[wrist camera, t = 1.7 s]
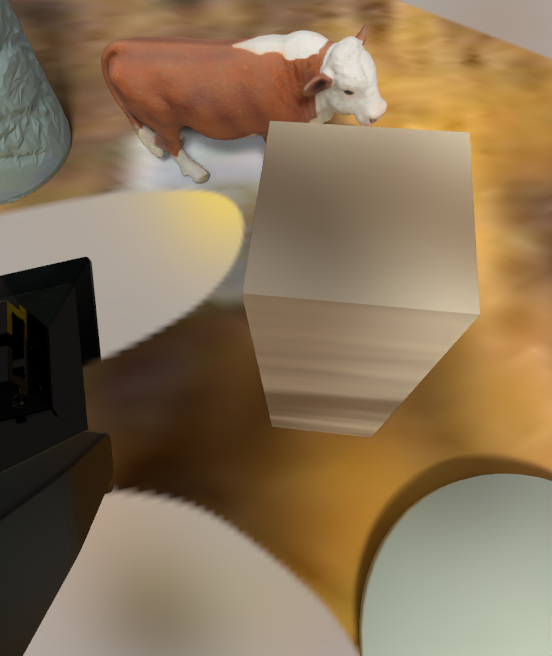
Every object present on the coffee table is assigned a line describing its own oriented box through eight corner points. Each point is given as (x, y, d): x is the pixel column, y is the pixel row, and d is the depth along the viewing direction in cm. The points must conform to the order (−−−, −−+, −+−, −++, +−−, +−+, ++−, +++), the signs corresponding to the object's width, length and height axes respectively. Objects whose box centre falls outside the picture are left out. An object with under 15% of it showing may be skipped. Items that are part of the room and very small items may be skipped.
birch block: (371, 437, 20) (479, 314, 8) (271, 426, 21) (241, 293, 9) (374, 344, 22) (469, 132, 10) (283, 336, 22) (269, 120, 10)
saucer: (691, 948, 14) (725, 985, 13) (316, 761, 16) (317, 779, 15) (702, 542, 18) (728, 543, 17) (404, 435, 20) (410, 430, 19)
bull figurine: (364, 212, 25) (394, 79, 18) (131, 178, 27) (67, 42, 19) (374, 151, 27) (405, 6, 19) (154, 122, 28) (103, -23, 21)
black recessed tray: (114, 492, 20) (67, 483, 16) (-53, 534, 20) (-146, 536, 16) (92, 258, 25) (51, 205, 21) (-43, 288, 25) (-112, 240, 21)
